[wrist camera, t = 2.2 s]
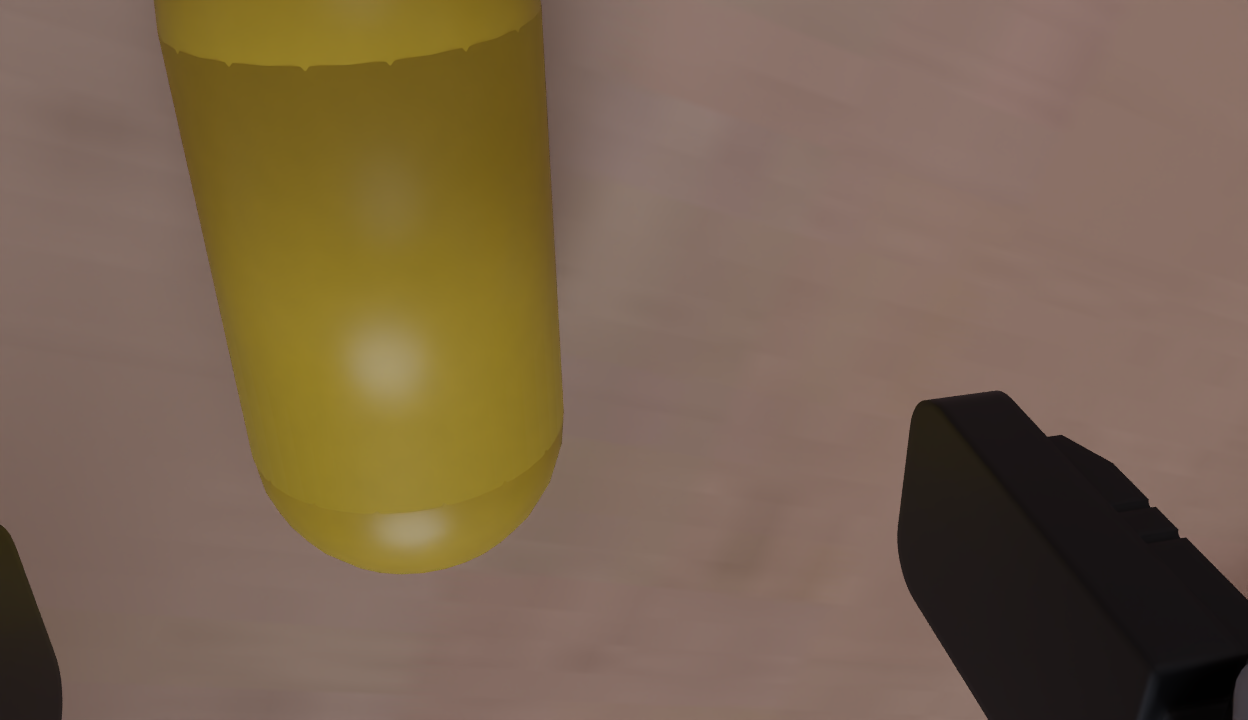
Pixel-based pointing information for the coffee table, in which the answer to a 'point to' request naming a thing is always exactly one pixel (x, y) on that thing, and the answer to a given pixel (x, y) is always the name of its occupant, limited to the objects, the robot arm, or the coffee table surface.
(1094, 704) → the robot arm
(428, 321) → the capsule
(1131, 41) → the coffee table surface
